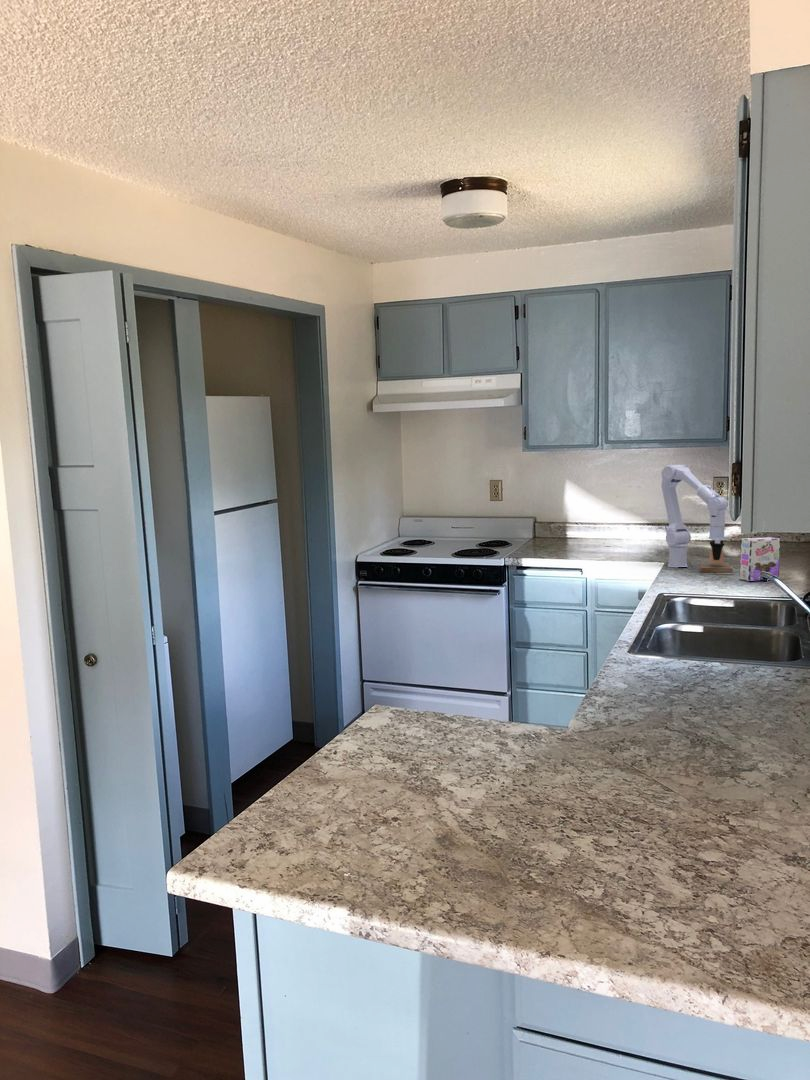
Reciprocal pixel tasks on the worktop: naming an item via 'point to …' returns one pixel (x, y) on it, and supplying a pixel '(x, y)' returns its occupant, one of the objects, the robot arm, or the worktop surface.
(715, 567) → the walnut block
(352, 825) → the worktop surface
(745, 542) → the candy box
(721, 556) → the terracotta cube
